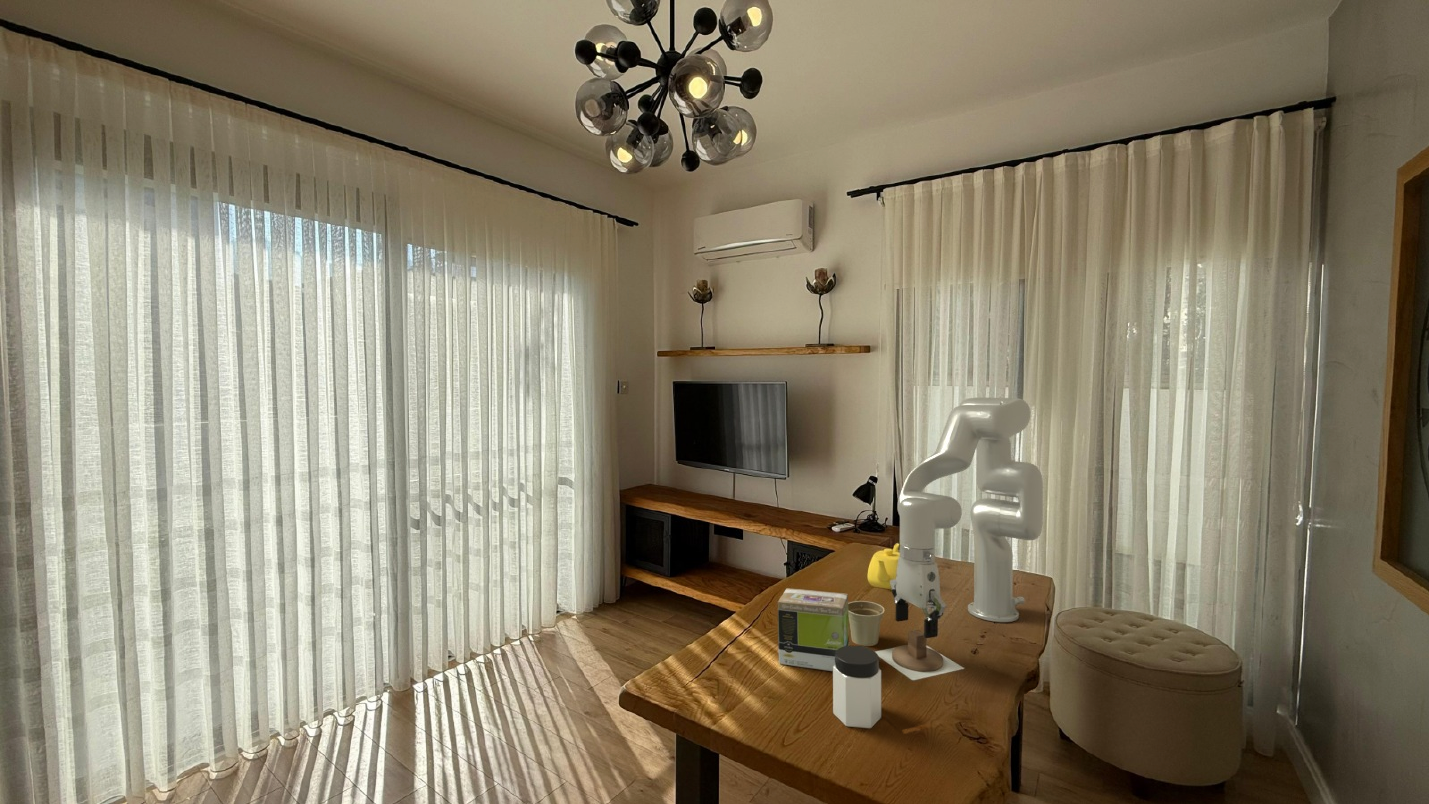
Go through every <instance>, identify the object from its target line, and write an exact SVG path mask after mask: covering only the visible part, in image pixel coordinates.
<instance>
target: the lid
mask: <svg viewBox="0 0 1429 804" xmlns="http://www.w3.org/2000/svg"><path fill="white" fill-rule="evenodd" d="M907 632H908V633H907V635H908V636H907V644H903V645H898V646H896V648H895V647H893V648H894V649H893V651H892V659H893V661H894V662H895V663H896V664H898V665H899V666H901V667H903V668H906V669H909V670H913V671H919V672H932V671H936V670H939V669H941V668H942V666H943V657H942V656H941V653H940V652H938V651H936V650H935V649H933V648H932V649H930V648H931V647H930V648H927V646H928V645H927V642H928V641H927V640H928V638H926V637H924V631H923V632H922V631H921V630H920V629H915V630H910V631H907ZM939 653H940V654H939Z"/></svg>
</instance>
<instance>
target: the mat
mask: <svg viewBox="0 0 1429 804" xmlns="http://www.w3.org/2000/svg"><path fill="white" fill-rule="evenodd" d="M896 647H897V646H896ZM896 647H891V648H886V649H881V650H877V651H876V650H875V652H876V653H877V655H878V657H879V659H882V660H883V661H884V662H886V663H887V664H889V665H890V666H892V668H895V669H896V670H897V671H898V672H900V673H901V674H902V675H904V676H905V677H907V678H908V679H909V680H911V681H918V680H922V679H926V678H930V677H935V676H939V675H943V674H947V673H951V672H956V671H960V670H965V667H963V666H961V665H960V664H958V663H957V662H955V661H952V659H950V658H949V657H946V656H945V655H943V654H941V653H940V652H938V653H939V654H941V656H942V657H943V666H942V668H941V669H939V670H936V671H932V672H919V671H913V670H909V669H906V668H903V667H901V666H899V665H898V664H896V663H895V662H894V661H893V659H892V651H893V649H894V648H896ZM927 648H930V649H933V648H932V647H930V646H928V645H927Z"/></svg>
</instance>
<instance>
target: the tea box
mask: <svg viewBox="0 0 1429 804" xmlns="http://www.w3.org/2000/svg"><path fill="white" fill-rule="evenodd" d="M782 593H783V594H781V596H780V598H779V599H778V601H777V633H778V634H777V635H778V637H777V639H778V640H777V641H778V643H777V645H778V647H777V648H778V663H779V665H786V666H787V665H788V666H794V667H800V668H807V669H815V670H822V671H828V672H829V671H830V672H833V666H834V665H835V652H836V650H837V649H839V648H841V647H843V646H849V645H850V631H849V630H850V622H849V616H848V603H849V594H848V593H844V592H843V593H842V592H830V591H821V590H820V591H819V590H810V589H799V588H788V587H787V588H785V590H784V591H783V592H782Z"/></svg>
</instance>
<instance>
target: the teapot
mask: <svg viewBox="0 0 1429 804" xmlns="http://www.w3.org/2000/svg"><path fill="white" fill-rule="evenodd" d="M899 549H900V543H898V542H897V543H895V544H894V546H893V549H891V548H884V549H883V550H877V551H876V552H875V553H874V554H873V555H872V557H871V559H870V561H869V566H868V570H867V581H868V583H869V585H870V586H872V587H873V588H874V587H876V588H879V589H883V590H891V591H892V588H891V584H890V581H891V580H893V579H896V573H897V564H898V559H899V556H900V555H899V554H900V551H899Z"/></svg>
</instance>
